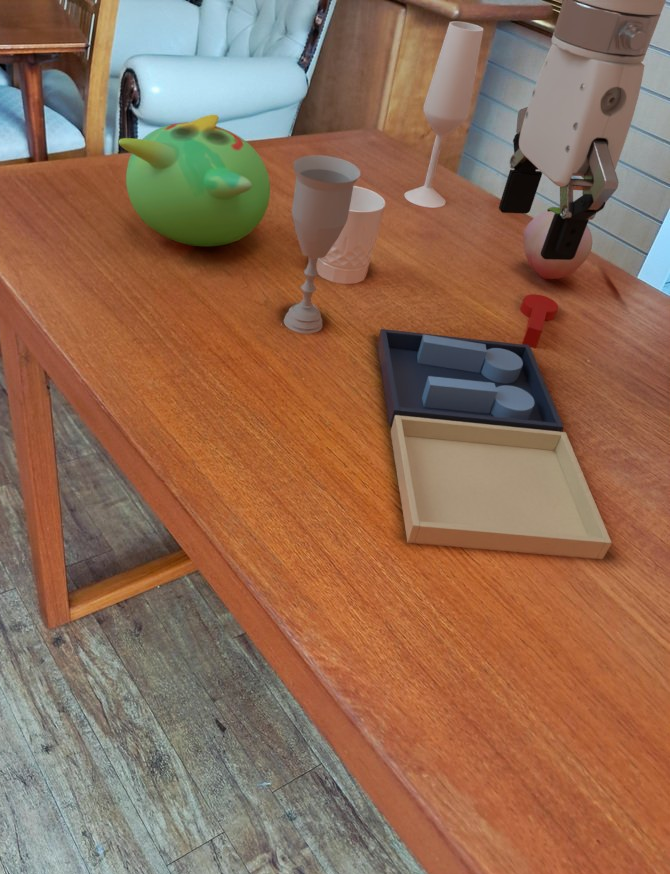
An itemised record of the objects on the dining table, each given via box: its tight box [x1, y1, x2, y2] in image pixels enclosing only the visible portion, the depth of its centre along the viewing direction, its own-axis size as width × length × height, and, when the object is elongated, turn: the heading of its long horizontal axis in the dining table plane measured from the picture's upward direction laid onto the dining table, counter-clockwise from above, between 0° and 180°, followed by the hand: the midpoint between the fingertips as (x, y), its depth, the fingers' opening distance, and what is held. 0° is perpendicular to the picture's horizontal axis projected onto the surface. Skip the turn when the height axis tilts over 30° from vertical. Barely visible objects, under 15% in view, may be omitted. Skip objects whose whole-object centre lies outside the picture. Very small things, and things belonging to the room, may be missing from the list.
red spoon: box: [519, 293, 559, 349], centre depth 97 cm, size 11×4×3 cm, turn 160°
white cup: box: [316, 185, 387, 285], centre depth 98 cm, size 8×8×10 cm
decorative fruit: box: [522, 206, 593, 280], centre depth 105 cm, size 9×8×10 cm
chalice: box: [280, 154, 361, 334], centre depth 85 cm, size 7×7×18 cm
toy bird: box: [117, 114, 271, 248], centre depth 99 cm, size 18×17×15 cm
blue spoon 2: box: [422, 376, 535, 420], centre depth 81 cm, size 11×4×3 cm, turn 90°
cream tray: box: [390, 415, 613, 560], centre depth 72 cm, size 17×15×2 cm
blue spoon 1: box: [417, 335, 523, 384], centre depth 87 cm, size 11×4×3 cm, turn 85°
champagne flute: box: [403, 20, 484, 209], centre depth 116 cm, size 7×7×24 cm
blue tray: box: [376, 328, 564, 432], centre depth 84 cm, size 17×15×2 cm
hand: (534, 234), depth 75 cm, fingers open, 9 cm apart
